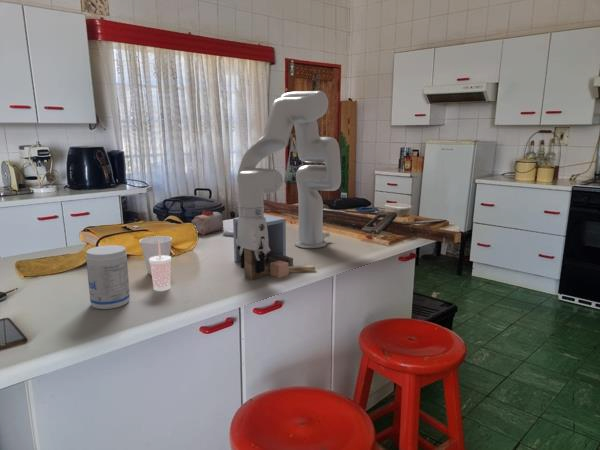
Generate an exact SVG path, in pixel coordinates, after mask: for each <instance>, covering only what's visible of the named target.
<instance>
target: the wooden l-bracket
mask: <svg viewBox="0 0 600 450" xmlns="http://www.w3.org/2000/svg"><path fill="white" fill-rule="evenodd" d="M259 249H260V248H259ZM259 255H260V252H259ZM255 260H257V259H256V256H255V252H254V251H252V250H249V249H245V248H244V265H245V268H244V278H246V279H248V280H251V281H254V280H257V279H260V278H261V277H264V276H266V275H271V274H270V265H268V266H265V271H264V272H260V273H256V272H255ZM279 260H280V261H284V262H287V263H288V266H294V257H292V256H287V255H286V256H284V255H281V254H277V253H274V252H269V253H268V255H267V257H266V262H269V263H272V262H276V261H279Z"/></svg>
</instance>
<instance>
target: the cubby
mask: <svg viewBox="0 0 600 450" xmlns="http://www.w3.org/2000/svg"><path fill="white" fill-rule="evenodd" d="M264 217H265V219H266V223H267V229H268V242H269V248H270V252H274V253H277V254H281V255H284V256H287V246H286V245H287V244H286V243H287V242H286V241H287V239H286V238H287V237H286V235H287V234H286V233H287V232H286V231H287V228H286V227H287V226H286V224H287V223H286V218H283V217H279V216H274V215H268V214H265V213H264ZM232 223H233V224H232V225H233V227H232V229H233V230H234V237H233V252H234V253H233V254H234V255H233V258H234V262H238V263H239V262H241V255H240V254H239V250H238V247H237V245H236V243H235V240H236V239H237V226H238V217H233V218H232ZM266 258H267V256H266Z"/></svg>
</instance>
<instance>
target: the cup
mask: <svg viewBox="0 0 600 450" xmlns="http://www.w3.org/2000/svg"><path fill="white" fill-rule="evenodd" d="M172 240H173V237H172V236H168V235H155V236H153V235H152V236H147V237H143V238H140V239H139V240H138V241H139V243H140V247H141V251H142V254H143V258H144V262H145V266H146V270H147V273H148V274H149V275H150V276H152V273H151V266H150V262H149V258H151V257H154V256H159V247H158V241H160V250H161V255H167V256H171V250H172V249H171V248H172Z"/></svg>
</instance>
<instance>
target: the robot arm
mask: <svg viewBox="0 0 600 450" xmlns="http://www.w3.org/2000/svg"><path fill="white" fill-rule="evenodd" d="M328 107H329V99H328V96H327V94H326V93H325V92H324V91H321V90H311V91H310V90H306V91H302V90H299V91H297V90H296V91H289V92H285V93H282V94H281V96H280V97H278V98H276V99H275V100H274V101H273V102H272V104H271V107H270V111H269V113H268V117H267V121H266V123H265V127H264V129H263V134H262V136H261V137H260V138H259V139H258V140H256V141H255V143H253V144H252V145H251V146H250V147H249V148H248V149H247V151H246V152H245V153H244V154H243V156H242V158H241V161H240V164H239V168H238V171H237V176H236V182H237V198H238V199H237V203H238V217H237V218H238V226H237V239H236V240H235V243H236V245H237V247H238V250H239V254H240V255H241V261H240V268H241V269H245V265H244V248H245V249H249V250H252V251H254V252H255V256H256V259H257V260H255V272H256V273H260V272H264V271H265V267H266V266H265V262H266V260H267V257H266V256H267V255H268V253H269V252H270V248H269V242H268V229H267V223H266V219H265V217H264V214H265V208H264V207H265V205H264V194H274V193H277V192H279V191H280V189H281V187H282V186H283V182H284V179H283V175H282V174H281V172H280V171H279V170H278V169H277V170H276V169H274V168H263V167H257V166H258V165H259V163H260V162H261V161H262V160H263V159H265V158H267V157H269V156H271V155H274V154H275V153H278V152H280V151H282V150H284V149H285V148H287V147H288V145H289V140H290V137H291V134H292V131H293V127H294V131H295V133H294V134H295V141H296V142H295V144H296V151H297V157H298V160H300V161H301V162H304V163H315V164H305V165H302V166H299V167H298V169H297V170H296V173H295V180H296V186H297V194H298V195H297V196H298V197H297V198H298V239H296V240H295V241H294V246H296V247H298V248H302V249H320V248H324V247H326V246H327V241H326V240H325V238H329V237H330V236H331V234H330V232H328V231H327V232H323V229H324V228H323V223H324V221H323V220H324V219H323V217H324V214H323V213H324V211H323V210H324V207H323V206H324V203H323V202H324V201H323V197H322V196H321V194H320V192H319V191H323V192H324V191H327V192H329V191H330V192H334V191H337V190H339V189H340V187H341V184H342V167H341V151H340V145H339V142H338V141H337V140H336V138H334V137H333V136H332V137H331V136H320V133H319V126H318V125H319V123H318V121H317V120H318V119H320V118H322V117H323V116H324V115H325V114H326V113H327V111H328ZM317 163H318V164H317ZM320 163H321V164H324V165H320ZM259 248H260V249H259ZM259 252H261V254H260V255H259ZM264 259H265V261H264Z"/></svg>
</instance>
